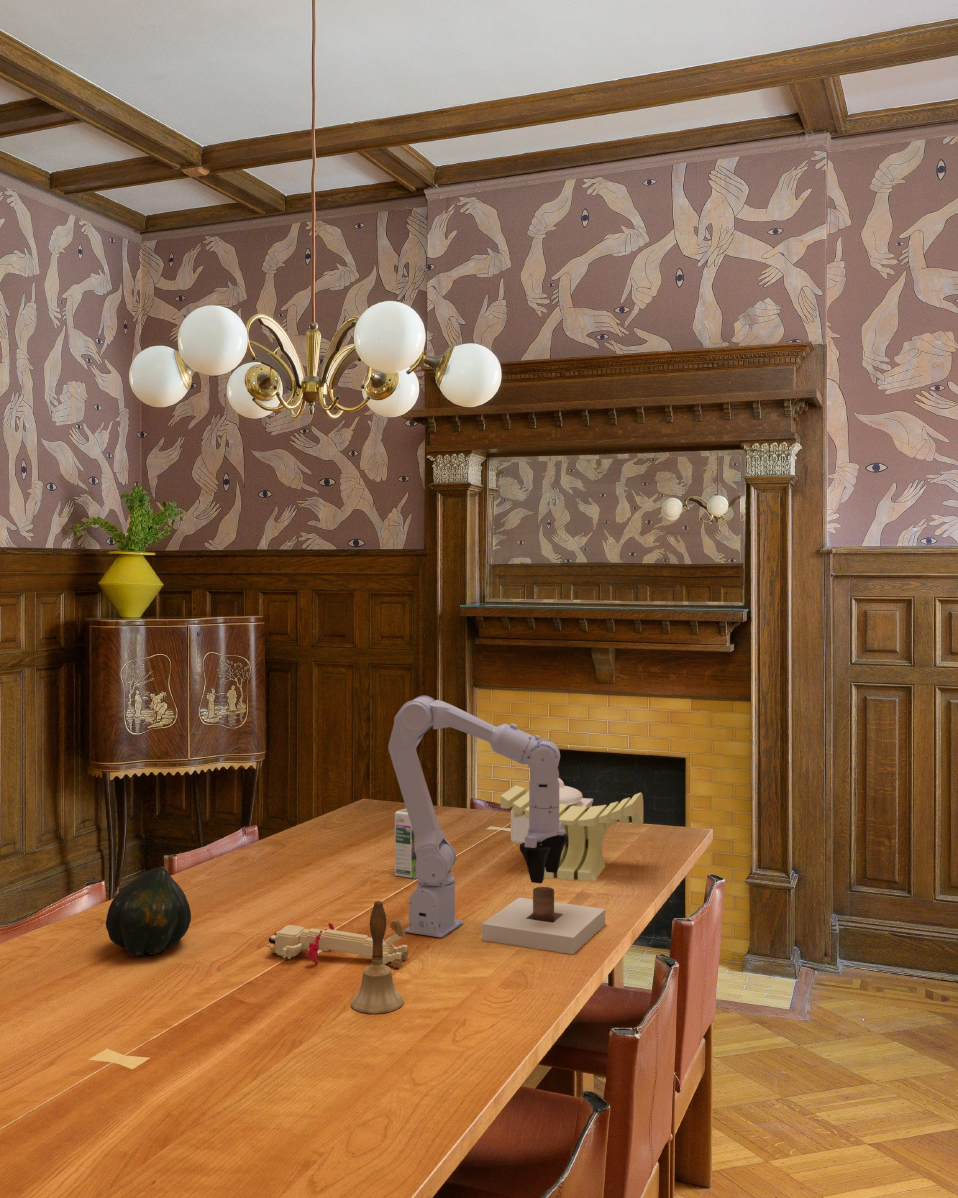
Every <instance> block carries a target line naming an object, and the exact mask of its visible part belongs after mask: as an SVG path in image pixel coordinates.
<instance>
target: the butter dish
mask: <svg viewBox="0 0 958 1198" xmlns="http://www.w3.org/2000/svg"><path fill="white" fill-rule="evenodd" d="M558 780H559V803H560V804H565V805H568V807H571V806H581V807H588V808H590V807H591V806H593V802H594V798H585V797H583V793H582V792H581V791H580V790H579V789H577V788H575V787H572V786H568V785H565V783H564V781H563V780H562V779H561V778H560V777H559V778H558ZM528 828H529V818H525V814H524V815H523V816H521V817H516V818H514V813H513V807H511V810H510V843H518V844H522V843H525V836H527V832H528Z"/></svg>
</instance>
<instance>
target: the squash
mask: <svg viewBox="0 0 958 1198" xmlns="http://www.w3.org/2000/svg"><path fill="white" fill-rule="evenodd" d="M191 921H192V911H191V907H190V904H189V901H188V899H187V896H186V894H185V892H184V891H183V889H182V888H181V886H180V885H179V884H178V883H177V881H175V880H174V878H173V877H172V876H171V874H170V873H169V872H168V871H167V869H165V867H164V866H159V867H154V868H151V869H150V870H147V871H146V872H144V873H142V874H140V875H139V876H137V877H136V878H135V879H133V880H132V881H130V882H129V883H128V884H127V885H125V886H124V887H123V888H121V890H119V892H118V893H117V894H116V895H115V896H114V897H113V899H112V901H111V903H110V905H109V907H108V909H107V915H106V920H105V929H106V931H107V933H108V938H109V939H110V941H111V942H112V943H113V944H114V945H116V946H118V947H120V948H122V949H126V951H127V952H128V954H129V955H130V956H133V957H137V958H140V957H142V956H144V955H146V953H148V954H151V955H157V954H159V953H161V952H162V951H164V949H166V948H171V947H173V946H174V947H175V945H177V944H179V942H180V941H181V939H182V938H183V937H184V936H185V935H186V934H187V932H188V930H189V927H190V924H191Z"/></svg>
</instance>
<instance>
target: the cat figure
mask: <svg viewBox="0 0 958 1198" xmlns="http://www.w3.org/2000/svg"><path fill="white" fill-rule="evenodd" d="M389 928H390V929H391V931H394V933H393V934H391V936H389V937H388V938H387V939H383V954H382V955H383V958H382V959H383V964H384V965H387V964H388V963H389V964H390V962H391V963H393V969H400V968H401V966H402V964H403V961H404V962H406V961H407V959H408V955H409V950H408V945H407V944H402V945H398V946H395V944H393V943H395V942H398V941H399V940H400V939H402V938H403V937H404V936H405V933H406V932H405V929H404V926H403V925H402V923H401V922H400V921H399V920H398V919H393V920H392V921H390V925H389ZM268 942H269V943H270V944H266V946H265V947H266V948H269V950H270V952H271V953H274V954H275V953H276V955H277V956H281V957H282V958H283V959H286V957H287V959H288V960H290V959H291V958H295V957H296V956H298V954H299V953H300V952H302V951H303V949H304V950H307V951H306V955H305V956H306V957H307V958H310V959H311V960H312V962H313V963H315V965H318V964H319V958H317V957H318V956H319V951H326V952H332V951H334V952H340V953H341V952H342V953H348V954H352V955H358V957H361V958H368V959H372V955H373V954H372V952H373V940H372V937H369V935H366V934H360V933H354V932H348V931H341V930H336V929H335V926H334V925H333V923H332V922H328V928H327V929H320V928H312V927H311V928H309V929H308V928H305V927H304V926H299V925H292V924H287V925H285V926H284V927H283V928H282V929H280V930H277V931H276V932H275V933H274V935H270V937H269V938H268ZM271 945H273V946H271Z"/></svg>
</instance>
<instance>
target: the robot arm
mask: <svg viewBox="0 0 958 1198" xmlns="http://www.w3.org/2000/svg"><path fill="white" fill-rule="evenodd" d="M393 719H394V720H393V726H392V729H391V734H390V738H389V741H388V745H387V748H388V753H389V755H390V759H391V763H392V767H393V769H394V772H395V776H396V779H397V783H398V786H399V788H400V789H399V790H400V792H401V796H402V799H403V802H404V805H405V809H407V812H408V816H409V819H410V822H411V826H412V829H413V832H414V836H415V847H414V848H415V853H416V865H415V869H416V874H417V876H418V877H417V878H416V879H417V881H416V882H417V883H416V888H415V890H414V891H413V892H412V893H411V894H410V897H409V898H408V899H409V900H408V927H406V928H405V929H404V930H405V932H404V933H411V934H416V935H423V936H429V937H436V938H443V937H445V936H446V935H448V934H449V933H451V932H453V930H455V929H457V928H458V927H460V926H461V925H463V924H464V920H460V919H456V913H455V912H456V901H455V900H456V889H455V888H456V882H455V881H456V877H455V876H454V874H453V871H451V870H452V868H453V867H454V865H455V863H456V860H457V855H456V851H455V848H454V847H453V846H452V844H450V843H449V841H448V840H447V838H446V837H447V836H446V834H445V832H444V830H442V828H441V827H440V825H439V822H438V821H439V820H438V818H437V815H436V811H435V808H434V805H433V802H432V798H431V795H430V791H429V789H428V785H427V784H428V783H427V781H426V778H425V775H424V771H423V769H422V765H421V762H420V759H419V756H418V752H417V747H418V745H419V743H420V742H421V741H422V739H423V737H424V735H425V733H427V731H429V730H430V729H431V728H432V729H433V730H439V729H445V728H446V729H447V728H453V729H454V730H458V731H460V732H462V733H466V734H468V735H470V736H472V737H475V738H478V739H481V740H483V741H485V742H488V743H489V745H490V746H491V751H492V752H494V753H496V754H499V755H501V756H503V757H505V758H507V759H509V760H512V761H514V762H516V763H519V764H521V765H527V766H528V768H529V770H530V775H529V776H530V777H529V781H528V791H529V828H528V832H527V836H525V843H519V851H520V852H521V854H522V856H523V858H524V860H525V863H526V866H527V867H526V868H527V870H528V875H529V879H530V882H531V883H534V884H540V885H541V884H543V882H544V879H545V877H544V872H545V869H546V872H551V873H557V871H558V868H559V863H560V858H561V854H562V851H563V848H564V845H565V843H566V841H567V839H568V834H565V830H564V829H563V821H559V780H558V778H560V772H559V764H560V759H561V753H560V749H559V747H558V745H556V744H555V742H553V741H551V740H550V739H549V738H542V739H541V735H538V734H535V735H532V734H529V733H527V732H525V731H523V730H521V729H518V727H519V726H518V725H517V724H515V723H510V724H508V723H502V724H500V725H498V726H496V725H494V724H491V723H490V722H487V721H485V720H483V719H482V718H479V717H477V716H475V715H473V714H471V713H469V712H467V711H465V710H463V709H460V708H458V707H457V706H454V705H452V704H451V703H448V702H445V701H442V700H440V699H436V700H435V699H434V698H433V697H431V696H429V695H419V696H417V697H415V698H413V699H412V700H409V701H407V702H406V703H404V704H403V705H402V706H401V708H400V709H399V710H398V712H397V713H396V715H395V716H394V718H393Z"/></svg>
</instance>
